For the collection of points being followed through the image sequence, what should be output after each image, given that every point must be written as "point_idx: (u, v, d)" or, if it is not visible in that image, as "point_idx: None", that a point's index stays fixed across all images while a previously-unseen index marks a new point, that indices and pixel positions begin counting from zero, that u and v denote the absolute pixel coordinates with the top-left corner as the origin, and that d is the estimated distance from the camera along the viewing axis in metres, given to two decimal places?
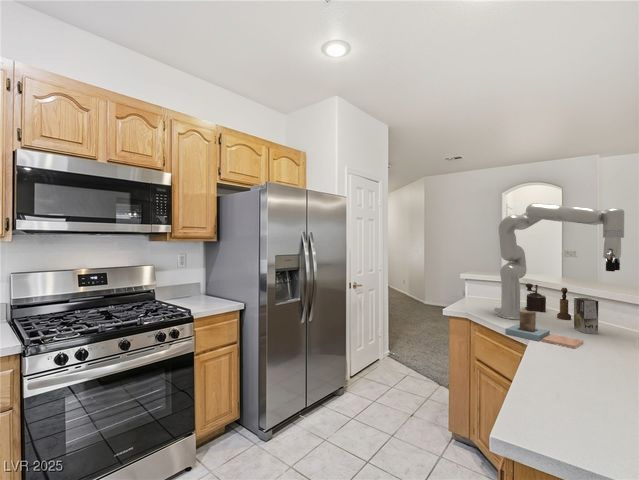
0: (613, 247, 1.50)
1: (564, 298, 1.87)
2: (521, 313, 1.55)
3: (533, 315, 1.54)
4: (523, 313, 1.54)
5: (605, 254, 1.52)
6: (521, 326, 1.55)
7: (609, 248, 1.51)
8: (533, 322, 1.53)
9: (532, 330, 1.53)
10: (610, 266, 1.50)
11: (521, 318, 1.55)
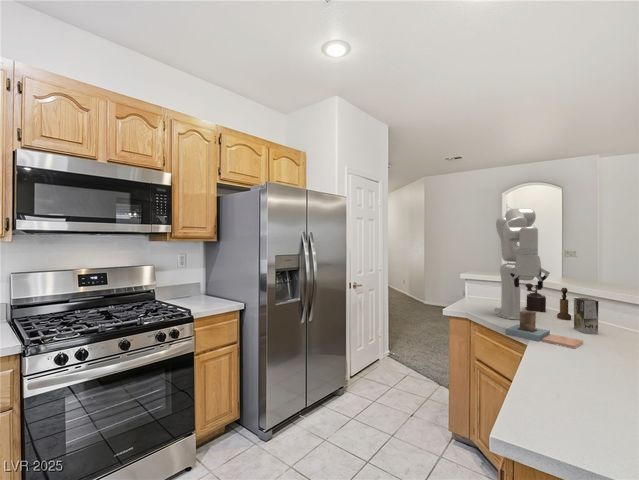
0: (540, 265, 1.52)
1: (564, 298, 1.87)
2: (521, 313, 1.55)
3: (533, 315, 1.54)
4: (523, 313, 1.54)
5: (538, 273, 1.50)
6: (521, 326, 1.55)
7: (539, 266, 1.51)
8: (533, 322, 1.53)
9: (532, 330, 1.53)
10: (542, 284, 1.51)
11: (521, 318, 1.55)
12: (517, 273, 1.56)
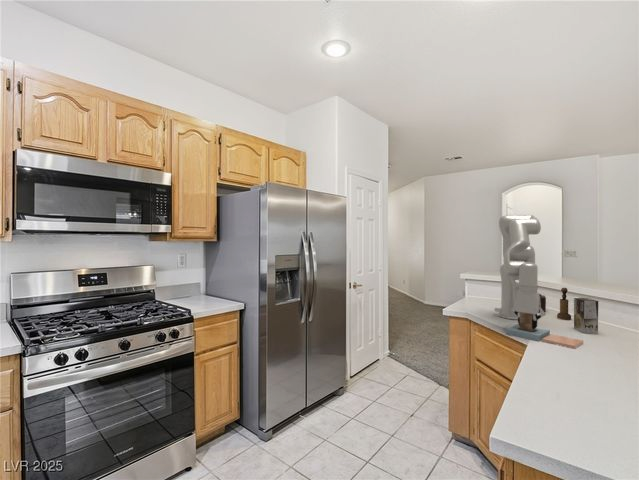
0: (540, 302, 1.52)
1: (564, 298, 1.87)
2: (521, 313, 1.55)
3: None
4: (523, 313, 1.54)
5: (538, 310, 1.50)
6: (521, 326, 1.55)
7: (539, 304, 1.51)
8: None
9: (532, 330, 1.53)
10: (536, 323, 1.52)
11: (521, 318, 1.55)
12: (516, 309, 1.56)
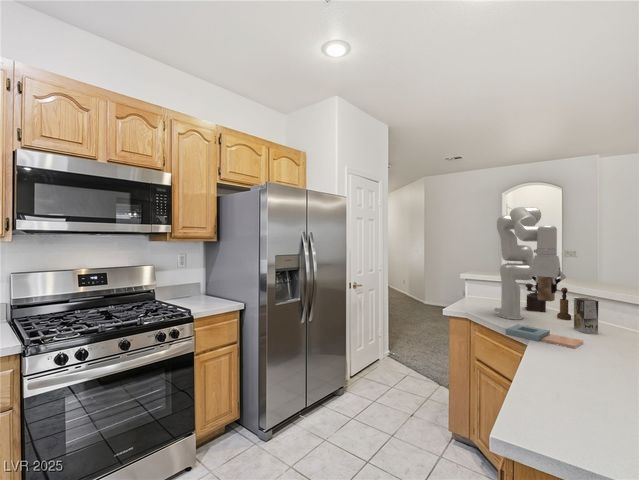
0: None
1: (564, 298, 1.87)
2: (539, 277, 1.49)
3: None
4: (542, 277, 1.48)
5: (558, 273, 1.44)
6: (539, 291, 1.49)
7: (559, 267, 1.45)
8: None
9: (551, 294, 1.46)
10: (556, 288, 1.46)
11: (539, 283, 1.49)
12: (535, 274, 1.50)
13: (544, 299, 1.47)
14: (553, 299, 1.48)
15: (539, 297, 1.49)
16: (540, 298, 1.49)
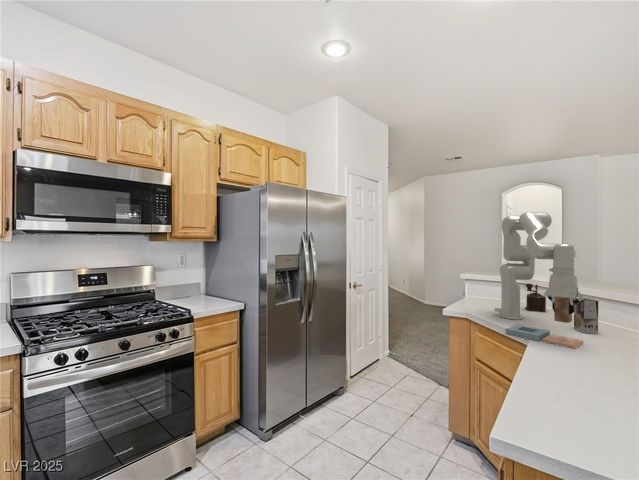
0: (577, 286, 1.41)
1: None
2: (556, 298, 1.44)
3: None
4: (558, 297, 1.43)
5: (576, 294, 1.39)
6: (556, 312, 1.44)
7: (576, 287, 1.40)
8: None
9: (569, 316, 1.41)
10: (573, 308, 1.41)
11: (556, 303, 1.44)
12: (551, 294, 1.45)
13: (561, 320, 1.42)
14: (570, 320, 1.43)
15: (556, 318, 1.44)
16: (557, 319, 1.44)
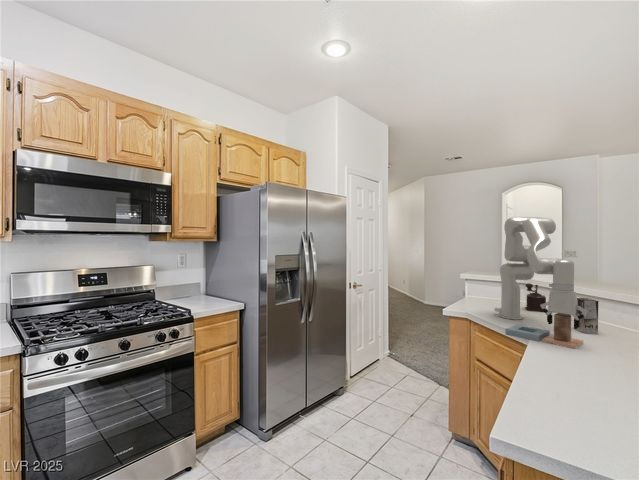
0: (577, 302, 1.41)
1: None
2: (556, 316, 1.44)
3: (569, 319, 1.43)
4: (558, 316, 1.43)
5: (575, 311, 1.39)
6: (556, 330, 1.44)
7: (576, 304, 1.40)
8: (569, 326, 1.42)
9: (568, 335, 1.42)
10: (578, 323, 1.40)
11: (556, 322, 1.44)
12: (551, 309, 1.45)
13: (561, 339, 1.43)
14: (570, 339, 1.43)
15: (555, 336, 1.44)
16: (556, 338, 1.44)
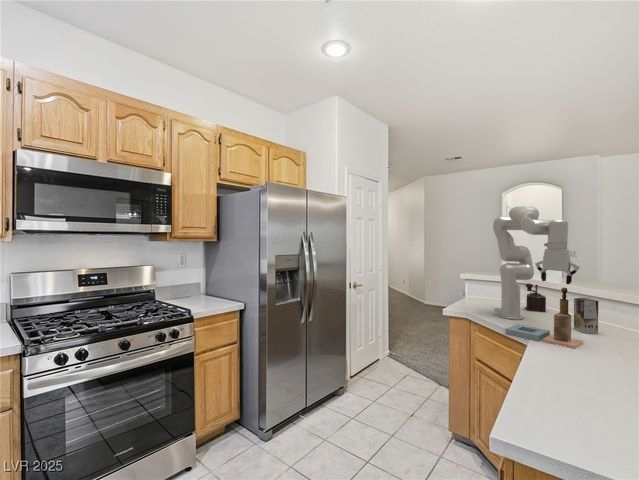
0: None
1: (564, 298, 1.87)
2: (556, 316, 1.44)
3: (569, 319, 1.43)
4: (558, 316, 1.43)
5: (568, 267, 1.47)
6: (556, 330, 1.44)
7: (569, 261, 1.48)
8: (569, 326, 1.42)
9: (568, 335, 1.42)
10: (571, 279, 1.48)
11: (556, 322, 1.44)
12: (545, 267, 1.54)
13: (561, 339, 1.43)
14: (570, 339, 1.43)
15: (555, 336, 1.44)
16: (556, 338, 1.44)
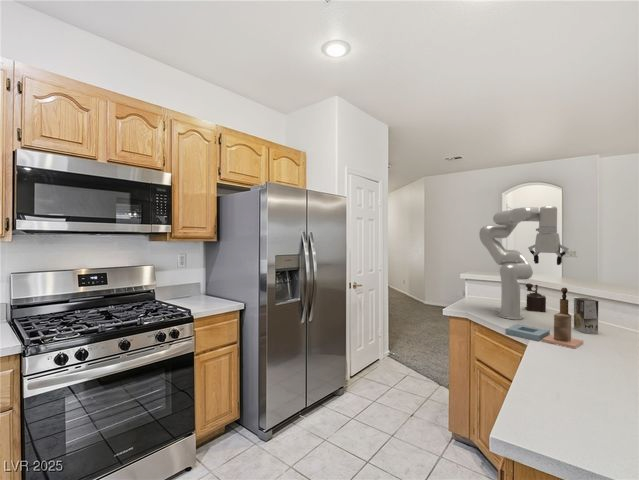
0: (559, 242, 1.62)
1: (564, 298, 1.87)
2: (556, 316, 1.44)
3: (569, 319, 1.43)
4: (558, 316, 1.43)
5: (558, 249, 1.60)
6: (556, 330, 1.44)
7: (559, 243, 1.61)
8: (569, 326, 1.42)
9: (568, 335, 1.42)
10: (561, 260, 1.61)
11: (556, 322, 1.44)
12: (537, 250, 1.66)
13: (561, 339, 1.43)
14: (570, 339, 1.43)
15: (555, 336, 1.44)
16: (556, 338, 1.44)
